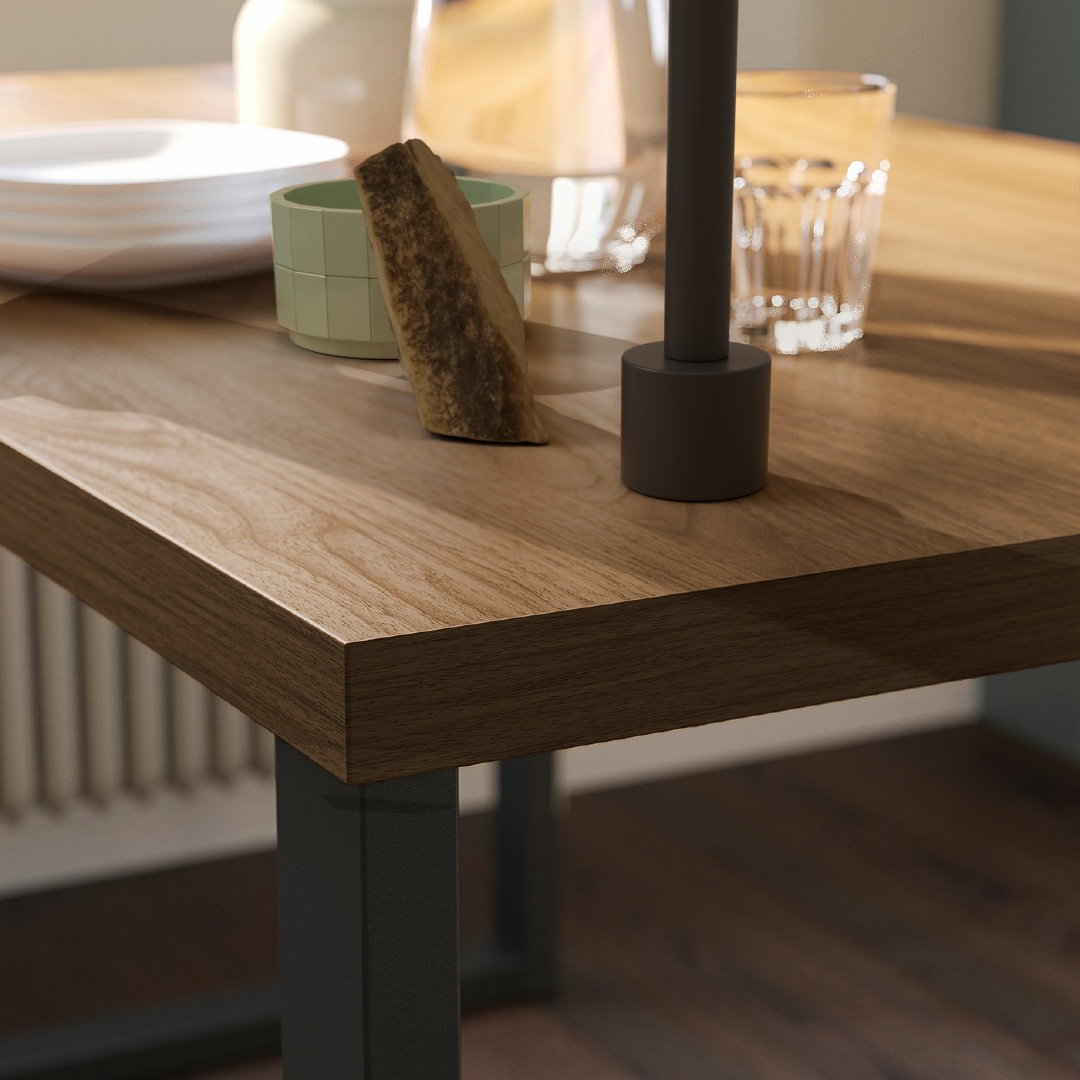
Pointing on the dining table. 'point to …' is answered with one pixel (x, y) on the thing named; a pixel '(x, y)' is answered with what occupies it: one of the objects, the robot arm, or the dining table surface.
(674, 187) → the dark weighted post stand
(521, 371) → the rock
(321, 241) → the bowl
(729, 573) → the dining table surface
